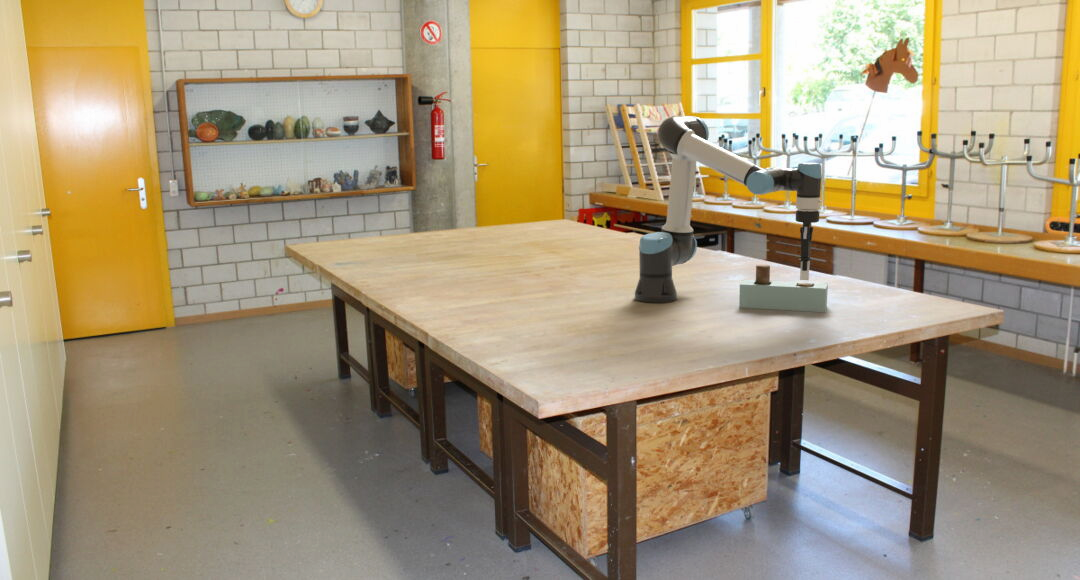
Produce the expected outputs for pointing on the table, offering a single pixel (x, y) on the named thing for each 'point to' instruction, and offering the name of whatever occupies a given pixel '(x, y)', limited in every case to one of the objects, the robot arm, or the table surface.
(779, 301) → the socket board
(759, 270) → the peg
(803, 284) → the peg
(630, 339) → the table surface
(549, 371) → the table surface
